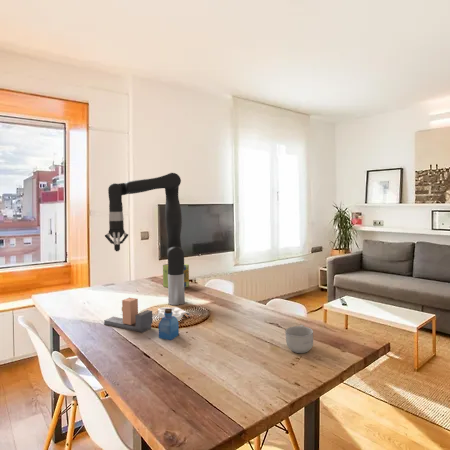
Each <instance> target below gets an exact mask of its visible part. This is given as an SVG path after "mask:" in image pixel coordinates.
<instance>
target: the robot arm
mask: <svg viewBox="0 0 450 450" xmlns="http://www.w3.org/2000/svg"><path fill="white" fill-rule="evenodd" d="M181 183H182V180H181V177H180V175H179V174H178V173H175V172H170V173H167V174H164V175H162V176H158V177H151V178H143V179H136V180H130V181H127V182H121V183H115V182H114V183H110V185H109V186H108V188H107V191H108V201H109V204H108V208H109V209H108V210H109V213H108V223H109V224H108V225H109V226H108V227H109V228H108V229H109V230H108V233H107V234H104V237H105V239H106V240H108V242H109V243H110V244H111V245H112V244H113V246H114V247H113V248H114V249H113V250H114V251H115V252H120V250H121V244H123V243H124V242H125V241H126V239H127V238H128V237H129V233H127V232H126V231H125V228H124V225H125V224H124V219H125V218H124V211H123V210H124V209H123V207H124V206H123V202H122V201H123V200H122V198H123V196H125V195H126V196H127V195H132V194H133V195H134V194H139V193H145V192H148V191H152V190H159V189H164V191H165V213H164V214H165V216H164V217H165V227H166V228H165V229H166V234H167V251H166V255H167V264H168V287H167V289H168V290H167V293H168V302H167V303H168V304H169V305H170V306H171V305H172V306H179V304H180V305H182V304H183V305H184V303H186V299H185V298H186V297H185V295H186V294H185V289H186V288H184V264H185V253H184V250H183V248H182V243H181V242H182V241H181V233H182V227H183V220H182V219H183V217H182V216H183V215H182V208H181V204H180V198H179V197H180V196H179V191H180V190H179V187H180V185H181ZM110 236H111V237H110ZM122 237H123V238H122ZM121 238H122V239H121Z"/></svg>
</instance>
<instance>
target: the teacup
mask: <svg viewBox="0 0 450 450" xmlns="http://www.w3.org/2000/svg"><path fill="white" fill-rule="evenodd" d="M284 331H285V332H284V333H285V343H286V347H288V349H289V350H291V351H292V352H293V353H296V354H297V353H298V354H306V353H307V352H309V351H310V350H311V349H312V348H313V346H314V330H313V329H312V328H310V327H308V326H305V325H304V324H300V325H295V326H288V328H286V329H285V330H284Z"/></svg>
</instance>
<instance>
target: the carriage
mask: <svg viewBox="0 0 450 450" xmlns="http://www.w3.org/2000/svg"><path fill="white" fill-rule="evenodd" d="M121 303H122V304H121V305H122V307H121V313H122V318H123V323H124V324H129V325H132V324H134V323H136V318H135V315H137V314H139V300H138V298H135V297H128V298H125V299H122V300H121Z"/></svg>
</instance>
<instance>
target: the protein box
mask: <svg viewBox="0 0 450 450" xmlns="http://www.w3.org/2000/svg"><path fill="white" fill-rule="evenodd" d="M189 266H190V264H188V263H187V264H186V263H184V289H186V288H189V287H190V268H189ZM162 286H163V287H164V288H168V263H165V264H163V265H162Z"/></svg>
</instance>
